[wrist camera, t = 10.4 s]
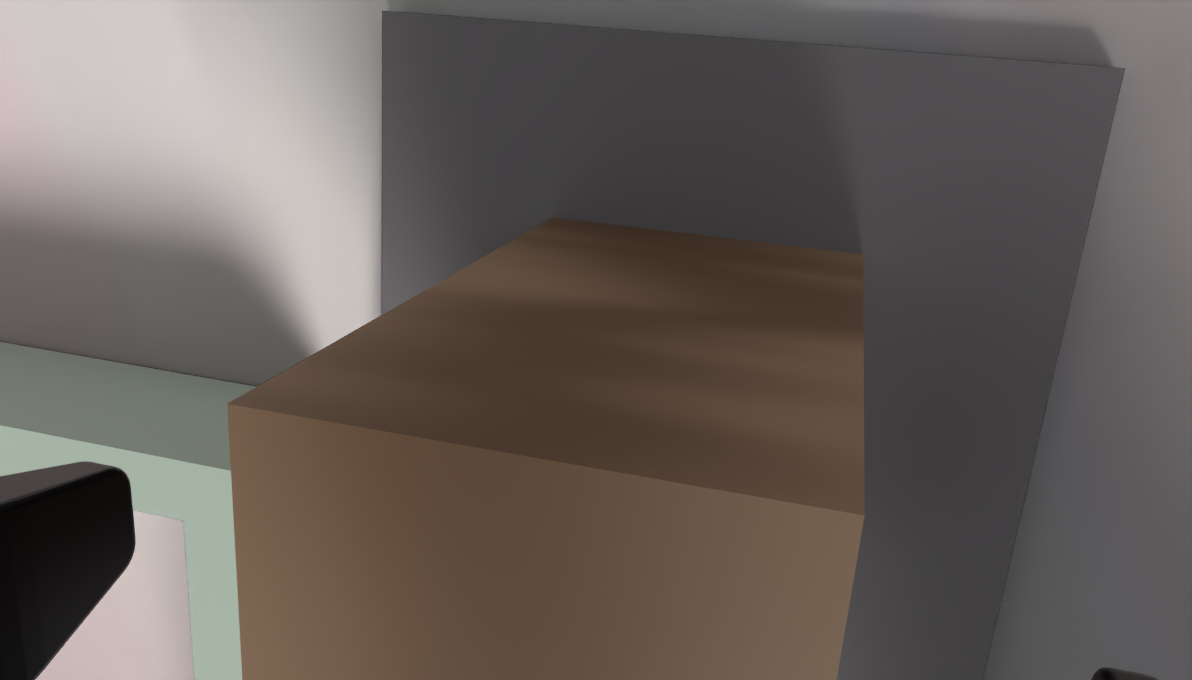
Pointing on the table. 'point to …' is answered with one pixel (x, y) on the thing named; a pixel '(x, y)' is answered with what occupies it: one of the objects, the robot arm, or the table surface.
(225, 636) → the green square frame
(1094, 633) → the table surface
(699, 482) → the walnut block
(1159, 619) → the table surface
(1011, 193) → the mat
